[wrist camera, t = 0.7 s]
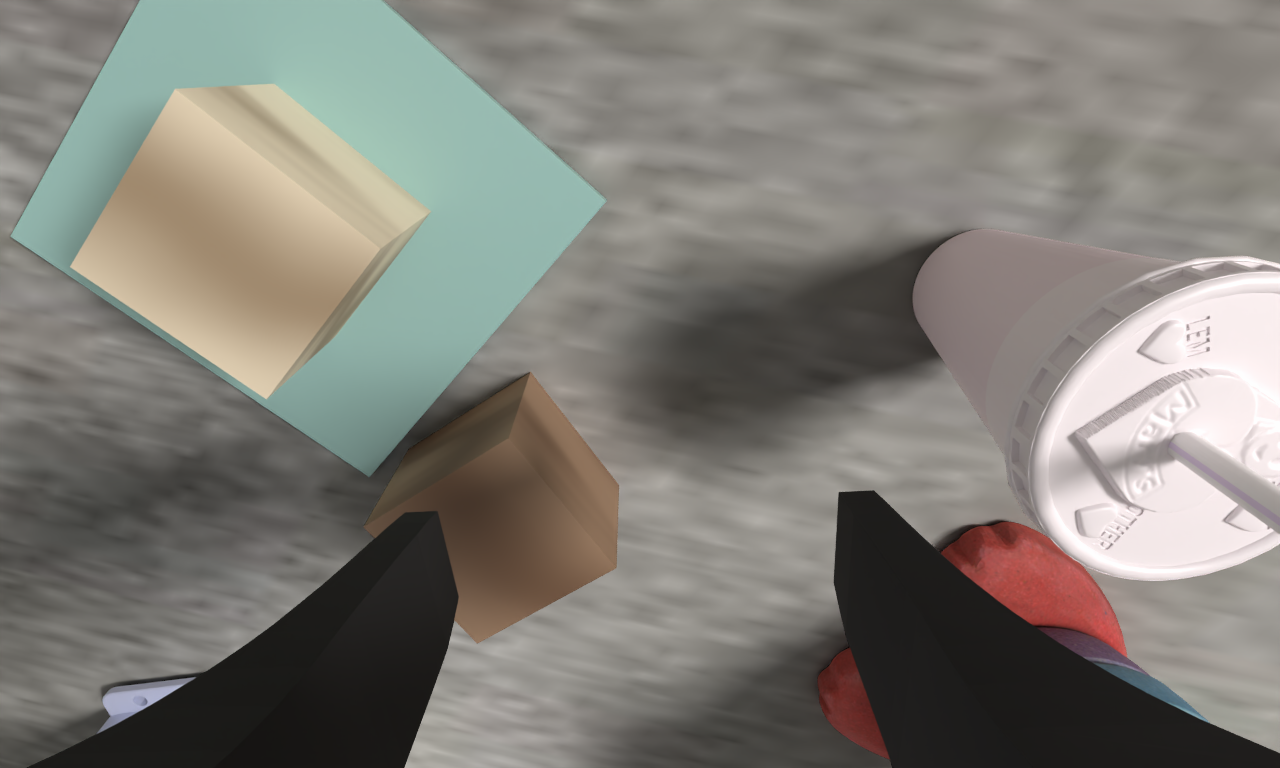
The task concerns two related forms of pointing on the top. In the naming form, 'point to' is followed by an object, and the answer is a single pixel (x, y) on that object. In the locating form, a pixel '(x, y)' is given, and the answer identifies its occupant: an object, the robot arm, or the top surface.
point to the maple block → (248, 231)
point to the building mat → (386, 136)
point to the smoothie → (1120, 394)
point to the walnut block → (510, 506)
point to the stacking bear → (1030, 587)
